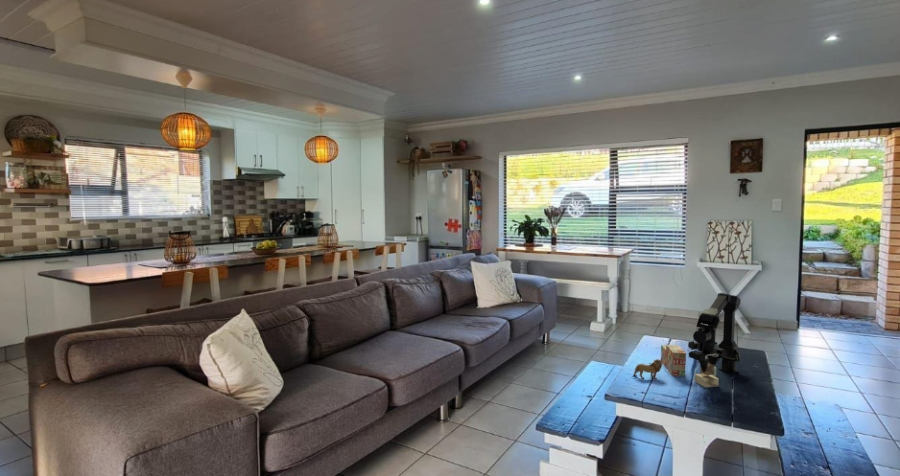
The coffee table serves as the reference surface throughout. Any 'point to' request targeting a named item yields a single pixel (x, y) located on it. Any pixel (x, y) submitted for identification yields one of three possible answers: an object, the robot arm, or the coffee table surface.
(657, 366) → the lion figurine
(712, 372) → the walnut block
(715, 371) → the sage block
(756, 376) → the coffee table surface
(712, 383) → the oak block
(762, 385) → the coffee table surface
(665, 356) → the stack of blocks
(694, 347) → the robot arm
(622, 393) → the coffee table surface
